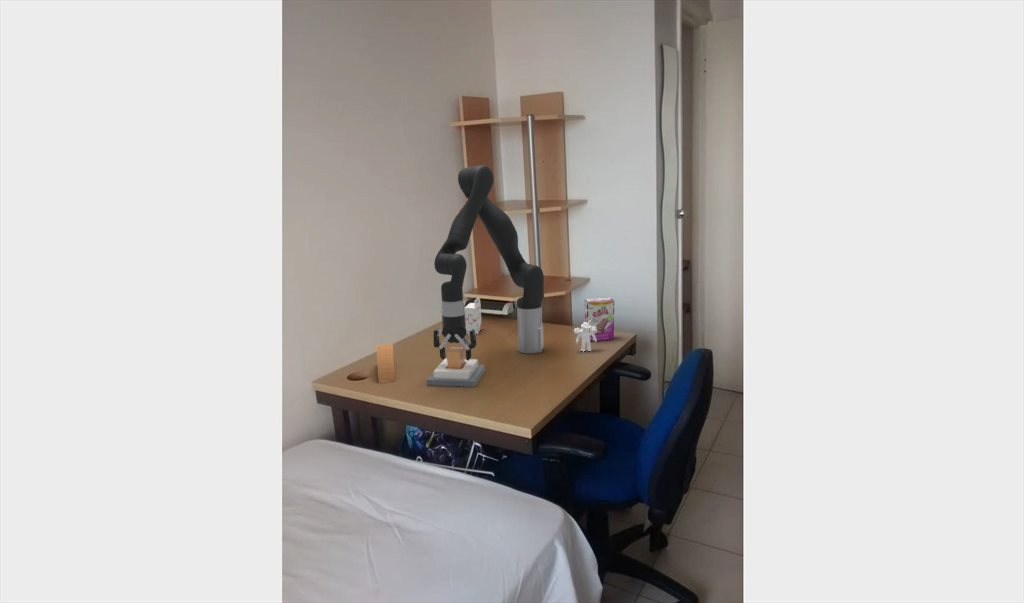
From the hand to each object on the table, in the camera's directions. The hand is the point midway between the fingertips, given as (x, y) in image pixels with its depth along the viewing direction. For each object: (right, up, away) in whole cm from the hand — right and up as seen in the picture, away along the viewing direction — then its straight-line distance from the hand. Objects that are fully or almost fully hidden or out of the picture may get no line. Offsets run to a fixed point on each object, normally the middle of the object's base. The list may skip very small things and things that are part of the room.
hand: (455, 359), depth 216 cm
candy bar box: (+54, +4, +38) cm, 66 cm away
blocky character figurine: (+47, +1, +25) cm, 53 cm away
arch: (-25, -6, +9) cm, 27 cm away
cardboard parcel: (0, -4, +1) cm, 5 cm away
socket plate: (0, -6, +2) cm, 7 cm away
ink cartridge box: (+3, +6, +55) cm, 55 cm away
